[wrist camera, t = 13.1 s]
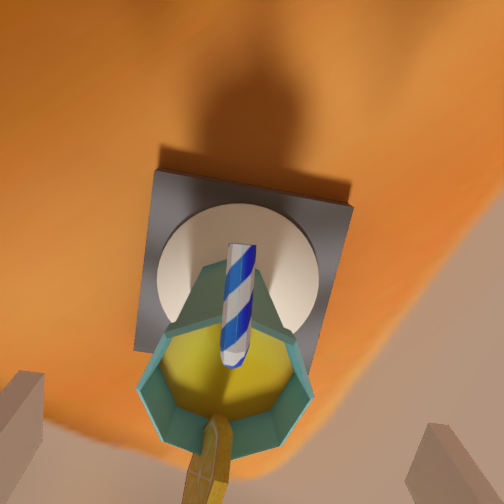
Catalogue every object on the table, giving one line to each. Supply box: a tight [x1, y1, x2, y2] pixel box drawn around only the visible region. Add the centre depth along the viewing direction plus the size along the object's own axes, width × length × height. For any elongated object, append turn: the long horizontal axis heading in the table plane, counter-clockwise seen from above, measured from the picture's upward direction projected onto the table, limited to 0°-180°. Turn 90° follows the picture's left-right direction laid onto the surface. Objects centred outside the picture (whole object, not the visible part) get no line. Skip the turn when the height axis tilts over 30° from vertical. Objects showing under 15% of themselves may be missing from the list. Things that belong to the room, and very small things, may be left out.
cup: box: [136, 243, 314, 504], centre depth 20 cm, size 14×8×15 cm, turn 175°
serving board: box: [133, 168, 354, 375], centre depth 28 cm, size 13×13×2 cm
